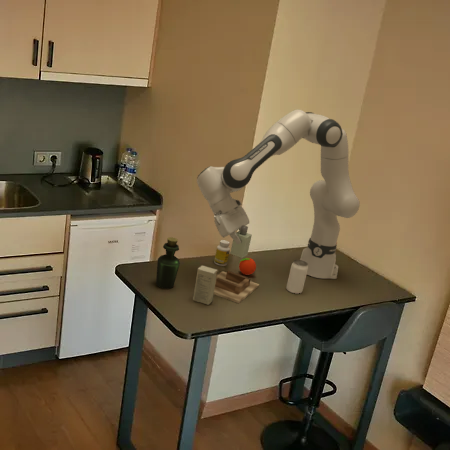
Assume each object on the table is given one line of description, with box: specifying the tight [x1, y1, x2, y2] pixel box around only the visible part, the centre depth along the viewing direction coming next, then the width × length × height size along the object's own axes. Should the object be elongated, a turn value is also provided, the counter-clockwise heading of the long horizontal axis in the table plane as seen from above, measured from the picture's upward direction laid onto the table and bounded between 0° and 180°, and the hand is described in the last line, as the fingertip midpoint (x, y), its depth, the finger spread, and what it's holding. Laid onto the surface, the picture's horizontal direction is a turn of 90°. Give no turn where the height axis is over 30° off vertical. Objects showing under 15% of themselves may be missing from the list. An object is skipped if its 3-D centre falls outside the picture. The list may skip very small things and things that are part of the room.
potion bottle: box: [155, 236, 181, 290], centre depth 220 cm, size 8×8×18 cm
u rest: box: [213, 270, 260, 304], centre depth 230 cm, size 20×16×4 cm
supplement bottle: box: [213, 239, 231, 267], centre depth 251 cm, size 5×5×10 cm
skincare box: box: [192, 265, 218, 306], centre depth 214 cm, size 6×4×12 cm
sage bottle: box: [229, 225, 252, 259], centre depth 224 cm, size 5×5×11 cm
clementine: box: [238, 257, 257, 276], centre depth 245 cm, size 8×7×7 cm
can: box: [285, 259, 308, 295], centre depth 238 cm, size 6×6×12 cm
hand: (243, 241), depth 224 cm, fingers closed on sage bottle, 5 cm apart
